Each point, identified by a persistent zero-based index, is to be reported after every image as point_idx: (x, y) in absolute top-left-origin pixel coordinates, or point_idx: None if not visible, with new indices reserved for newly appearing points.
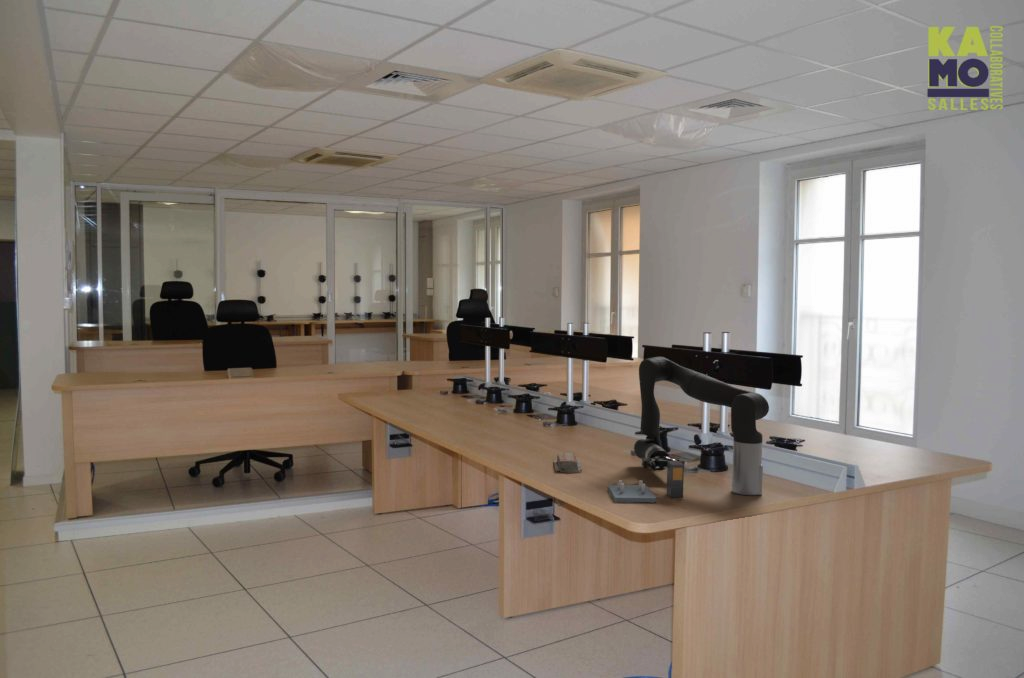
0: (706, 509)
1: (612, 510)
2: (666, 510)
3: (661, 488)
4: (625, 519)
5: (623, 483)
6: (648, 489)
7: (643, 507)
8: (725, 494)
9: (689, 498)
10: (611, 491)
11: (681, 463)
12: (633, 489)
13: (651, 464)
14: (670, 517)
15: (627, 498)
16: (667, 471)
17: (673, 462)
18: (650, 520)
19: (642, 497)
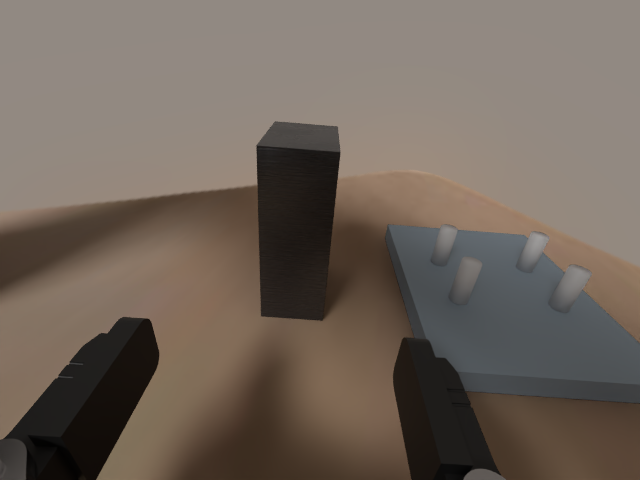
0: (254, 198)
1: (498, 210)
2: (363, 201)
3: (324, 426)
4: (453, 182)
5: (537, 237)
6: (419, 301)
7: (423, 217)
8: (22, 295)
9: (247, 262)
10: (582, 291)
11: (275, 128)
12: (493, 304)
13: (456, 392)
14: (361, 180)
15: (483, 234)
16: (333, 214)
17: (314, 136)
18: (404, 176)
19: (435, 230)
